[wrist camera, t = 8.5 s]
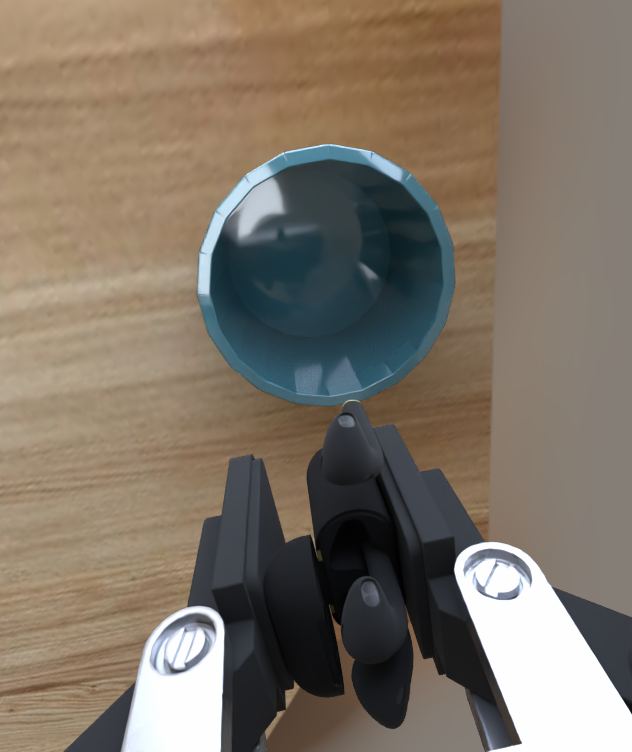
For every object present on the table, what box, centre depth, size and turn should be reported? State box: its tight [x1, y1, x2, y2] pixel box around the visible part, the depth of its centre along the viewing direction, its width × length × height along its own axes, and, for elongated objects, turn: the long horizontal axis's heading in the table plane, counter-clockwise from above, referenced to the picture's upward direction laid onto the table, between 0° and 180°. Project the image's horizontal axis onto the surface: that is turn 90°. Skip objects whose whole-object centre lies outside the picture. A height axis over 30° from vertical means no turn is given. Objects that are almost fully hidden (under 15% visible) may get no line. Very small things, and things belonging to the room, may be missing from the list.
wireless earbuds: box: [264, 400, 413, 729], centre depth 9 cm, size 7×2×5 cm, turn 11°
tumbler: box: [197, 144, 455, 406], centre depth 22 cm, size 10×10×9 cm
